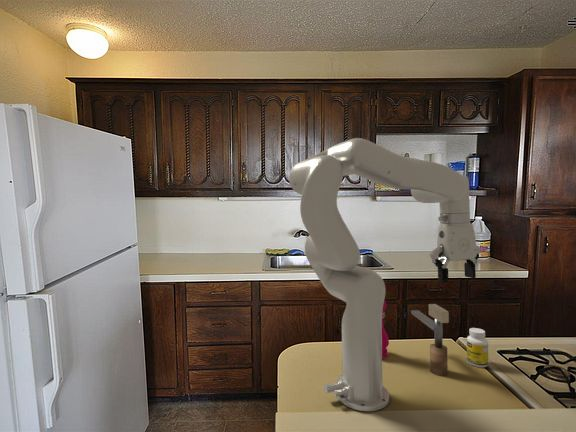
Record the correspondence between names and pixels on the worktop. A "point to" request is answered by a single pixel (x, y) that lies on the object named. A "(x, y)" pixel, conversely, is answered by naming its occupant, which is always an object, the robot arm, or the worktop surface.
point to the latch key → (436, 325)
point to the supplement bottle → (477, 348)
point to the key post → (438, 360)
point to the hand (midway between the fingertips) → (456, 279)
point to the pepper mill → (384, 335)
